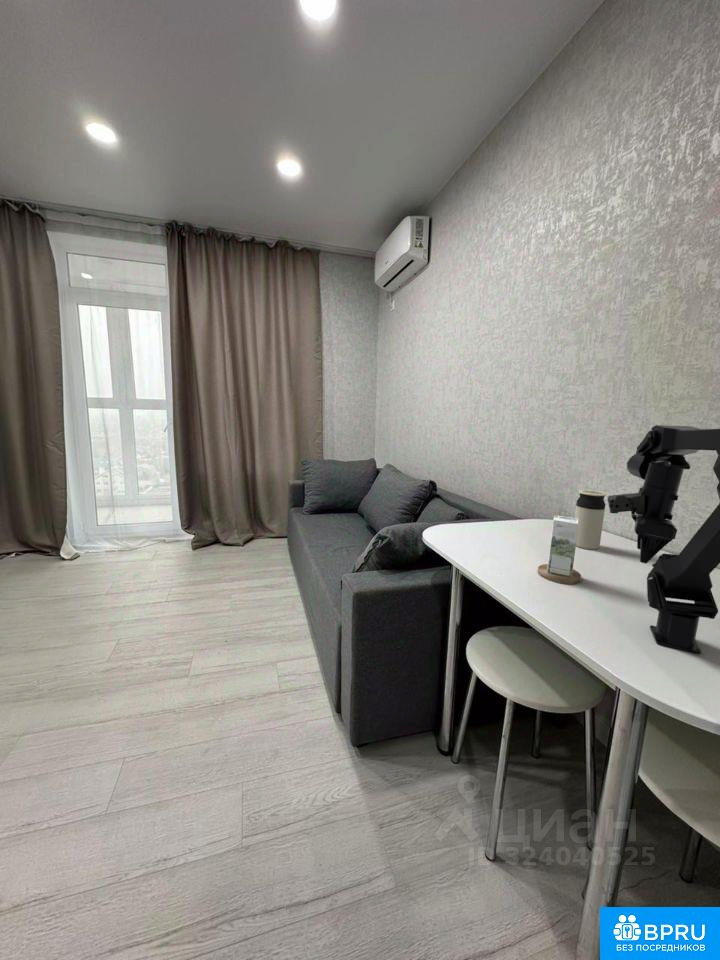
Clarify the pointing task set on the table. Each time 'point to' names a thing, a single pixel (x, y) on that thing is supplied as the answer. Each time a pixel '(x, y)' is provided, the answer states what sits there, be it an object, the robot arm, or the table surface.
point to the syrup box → (563, 545)
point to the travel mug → (590, 518)
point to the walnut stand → (559, 576)
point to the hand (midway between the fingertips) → (641, 555)
